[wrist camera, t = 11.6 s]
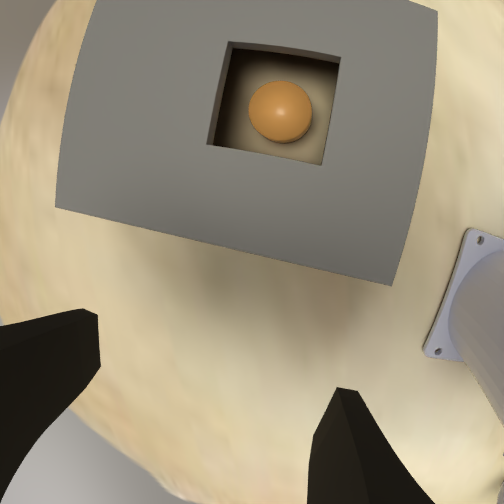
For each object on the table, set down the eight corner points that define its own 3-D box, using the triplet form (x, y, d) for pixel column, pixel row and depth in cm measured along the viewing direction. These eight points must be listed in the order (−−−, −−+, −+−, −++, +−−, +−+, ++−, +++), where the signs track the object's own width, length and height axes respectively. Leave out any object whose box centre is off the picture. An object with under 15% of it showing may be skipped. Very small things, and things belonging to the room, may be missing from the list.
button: (316, 94, 14) (316, 86, 12) (306, 148, 14) (305, 145, 13) (260, 85, 14) (254, 76, 13) (249, 137, 15) (243, 134, 13)
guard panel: (410, 45, 12) (437, 11, 8) (372, 256, 16) (391, 286, 11) (140, 16, 14) (101, -11, 10) (104, 197, 18) (55, 207, 14)
